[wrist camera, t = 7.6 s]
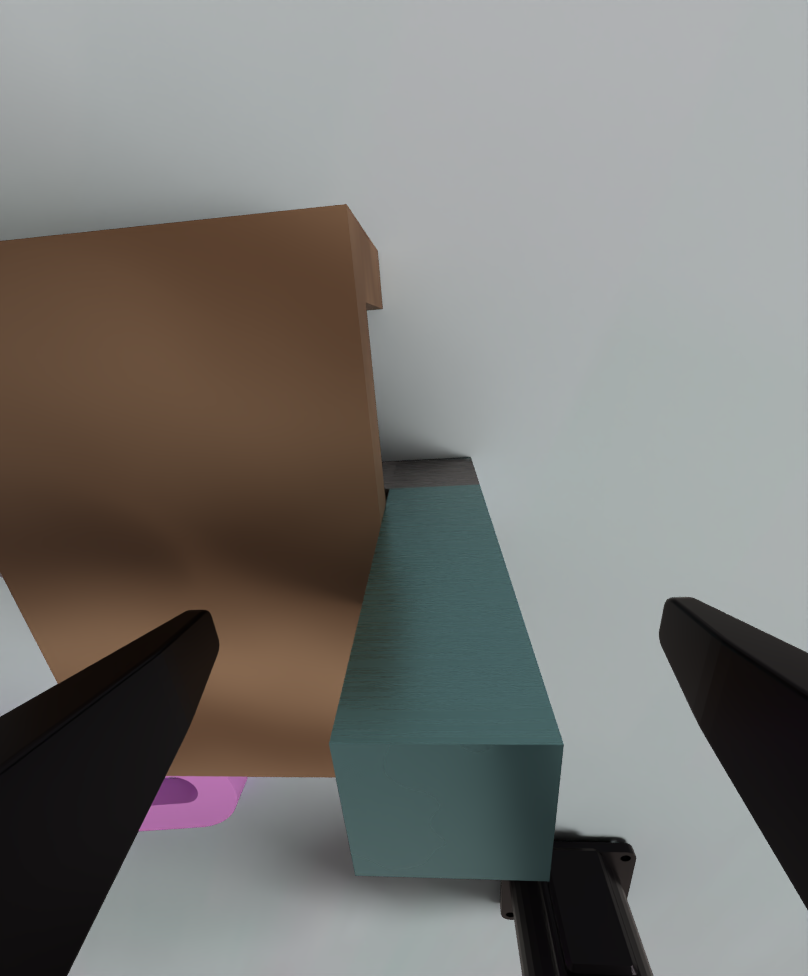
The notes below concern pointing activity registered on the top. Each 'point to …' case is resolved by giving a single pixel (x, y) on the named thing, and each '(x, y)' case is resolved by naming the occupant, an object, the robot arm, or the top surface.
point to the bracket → (193, 802)
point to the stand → (198, 461)
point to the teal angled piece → (444, 697)
